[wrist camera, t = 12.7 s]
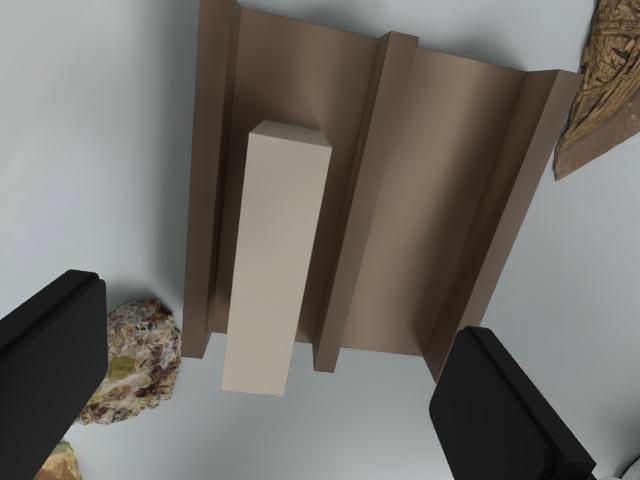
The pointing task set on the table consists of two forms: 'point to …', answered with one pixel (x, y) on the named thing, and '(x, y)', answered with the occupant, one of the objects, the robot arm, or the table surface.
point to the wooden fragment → (604, 88)
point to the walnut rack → (368, 177)
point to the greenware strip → (273, 253)
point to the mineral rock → (135, 363)
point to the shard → (59, 465)
